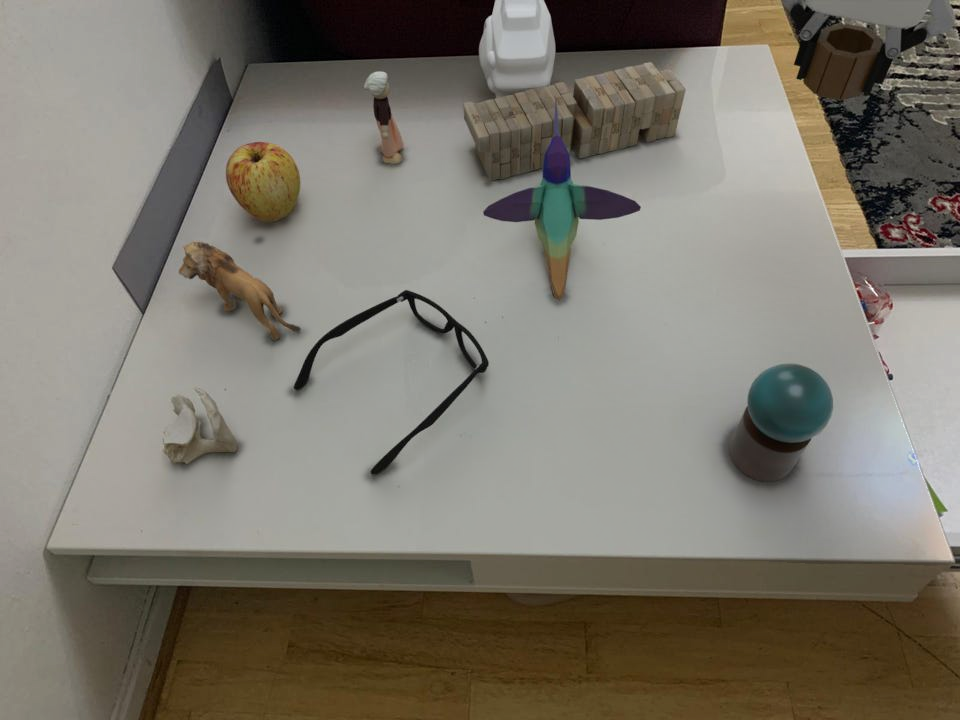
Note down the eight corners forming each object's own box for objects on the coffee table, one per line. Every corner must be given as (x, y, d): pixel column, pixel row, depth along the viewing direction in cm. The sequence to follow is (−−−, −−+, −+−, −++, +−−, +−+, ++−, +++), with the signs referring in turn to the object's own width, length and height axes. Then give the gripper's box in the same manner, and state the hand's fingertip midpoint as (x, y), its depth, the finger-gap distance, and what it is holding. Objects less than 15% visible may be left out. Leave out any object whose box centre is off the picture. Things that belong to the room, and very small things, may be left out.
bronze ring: (869, 74, 72) (887, 31, 69) (857, 105, 70) (875, 62, 66) (812, 61, 74) (826, 19, 71) (798, 91, 71) (812, 48, 68)
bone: (135, 442, 76) (145, 367, 71) (188, 422, 81) (202, 351, 76) (185, 492, 73) (199, 418, 68) (237, 468, 78) (254, 397, 73)
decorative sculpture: (615, 193, 97) (628, 95, 85) (631, 298, 86) (648, 203, 74) (488, 197, 98) (483, 100, 86) (487, 302, 87) (481, 208, 75)
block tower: (651, 111, 108) (464, 150, 104) (661, 58, 101) (461, 98, 97) (674, 142, 104) (480, 185, 99) (687, 89, 97) (478, 132, 92)
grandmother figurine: (412, 164, 103) (399, 84, 92) (386, 171, 102) (370, 92, 92) (395, 133, 107) (381, 53, 97) (370, 140, 106) (354, 61, 96)
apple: (286, 179, 102) (265, 118, 94) (321, 210, 98) (303, 150, 90) (230, 210, 99) (203, 150, 91) (264, 244, 95) (239, 184, 87)
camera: (550, 62, 115) (553, -42, 102) (557, 133, 105) (561, 28, 92) (481, 65, 116) (476, -38, 103) (481, 136, 105) (474, 32, 92)
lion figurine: (193, 307, 89) (163, 256, 82) (220, 278, 92) (194, 226, 84) (289, 348, 84) (266, 298, 77) (315, 316, 87) (296, 265, 80)
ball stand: (806, 439, 74) (853, 365, 64) (788, 497, 71) (835, 429, 60) (736, 412, 76) (770, 336, 66) (715, 467, 73) (748, 397, 62)
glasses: (505, 387, 81) (506, 360, 77) (378, 483, 74) (371, 458, 70) (413, 305, 88) (409, 277, 84) (290, 385, 81) (279, 358, 77)
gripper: (1040, -130, 56) (934, 79, 71) (813, -159, 62) (758, 42, 76) (1031, -90, 52) (921, 123, 67) (790, -124, 58) (737, 80, 73)
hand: (835, 78), depth 72 cm, fingers closed on bronze ring, 5 cm apart
